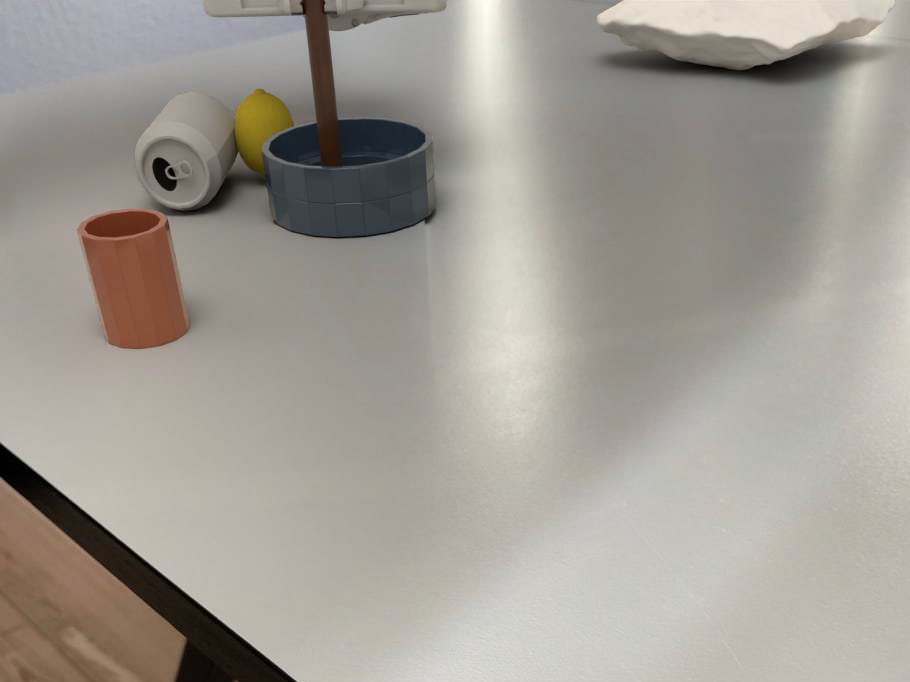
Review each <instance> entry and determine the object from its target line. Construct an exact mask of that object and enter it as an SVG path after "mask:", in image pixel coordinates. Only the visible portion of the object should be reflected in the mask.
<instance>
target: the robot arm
mask: <svg viewBox="0 0 910 682" xmlns="http://www.w3.org/2000/svg"><path fill="white" fill-rule="evenodd" d="M324 1H325V2H326V3H325V5H324V10H325V14H327V16H328V26H329V32H344V31H349V30H353V29H355V28H357V27H359V26H361V25H369V24H371V23H375V22H377V21H380V20H383V19H388V18H390V19H391V18H392V19H393V18H398V17H405V16H418V15H421V14H422V15H423V14H425V15H426V14H430V13H432V14H435V13H441V12H444V11H446V9H447V0H324ZM201 2H202V8H203V11H204V13H205V14H206V15H207V16H209V17H211V18H216V19H217V18H219V19H220V18H255V17H256V18H257V17H294V16H295V17H296V16H297V17H298V16H300V17H301V16H302V17H303V18H304V19H305V15H304V6H303V0H201Z"/></svg>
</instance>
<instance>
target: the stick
mask: <svg viewBox="0 0 910 682" xmlns="http://www.w3.org/2000/svg"><path fill="white" fill-rule="evenodd" d="M325 3H326V2H325V1H324V0H303V6H304V15H305V18H304V23H305V33H306V41H307V49H308V50H307V51H308V59H309V67H310V76H311V84H312V95H313V103H314V111H315V113H314V114H315V120H316V121H317V130H318V139H319V148H320V157H321V166H325V167H339V166H343V164H342V154H341V144H340V134H339V124H338V118H339V115H338V106H337V96H336V85H335V75H334V66H333V57H332V47H331V38H330V30H329V26H328V16H327V14H325V10H324V5H325Z"/></svg>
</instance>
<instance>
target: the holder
mask: <svg viewBox="0 0 910 682" xmlns="http://www.w3.org/2000/svg"><path fill="white" fill-rule="evenodd" d="M76 233H77V237H78V240H79V244H80V245H79V246H80V249H81V252H82V257H83V259H84V260H83V261H84V263H85V267H86V271H87V275H88V278H89V282H90V287H91V290H92V294H93V298H94V301H95V306H96V308H97V313H98V316H99V320H100V324H101V328H102V332H103V336H104V338H105V339H106V341H107V342H108V343H109V344H110V345H112V346H114V347H116V348H121V349H128V350H144V349H152V348H158V347H161V346H165V345H168V344H170V343H171V344H172V343H173V342H175V341H177V340H179V339H180V338H182V337H184V336H185V335H186V334H187V333H188V331H189V330H190V325H191V323H190V318H189V314H188V309H187V304H186V299H185V294H184V289H183V283H182V279H181V275H180V270H179V266H178V261H177V256H176V251H175V247H174V242H173V236H172V231H171V227H170V221H169V217H167V216H166V215H165V214H164V213H163V212H162V211H158V210H154V209H150V208H124V209H116V210H110V211H106V212H102V213H98V214H95V215H92V216H91V217H89V218H87V219H85V220H82V221H81V222H80V224H79V225H78V227H77V228H76Z"/></svg>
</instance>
